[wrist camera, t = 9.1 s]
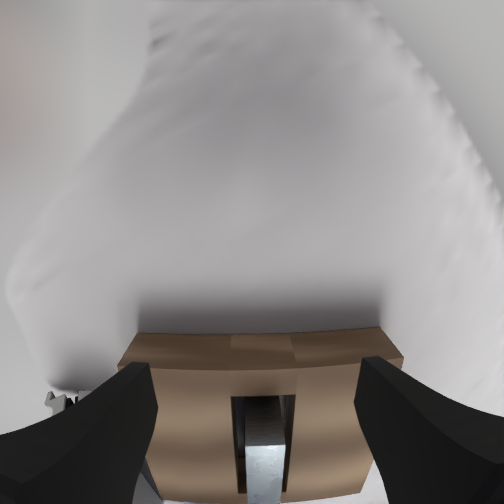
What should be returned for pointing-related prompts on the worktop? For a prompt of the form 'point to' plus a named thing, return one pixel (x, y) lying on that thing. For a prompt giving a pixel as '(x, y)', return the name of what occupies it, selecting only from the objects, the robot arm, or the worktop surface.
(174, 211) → the worktop surface
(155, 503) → the grey arched slab
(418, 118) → the worktop surface
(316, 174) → the worktop surface
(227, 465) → the slotted tan panel
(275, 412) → the grey flat-faced block
